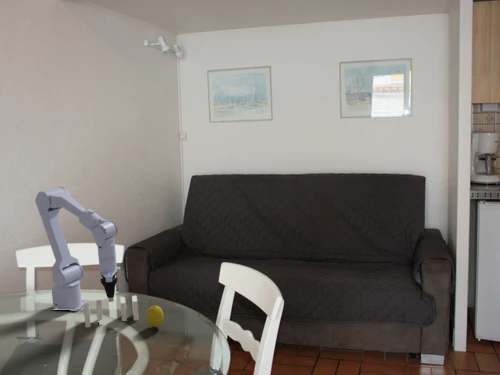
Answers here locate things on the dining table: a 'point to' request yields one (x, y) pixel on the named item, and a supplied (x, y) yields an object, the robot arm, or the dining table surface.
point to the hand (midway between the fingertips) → (110, 294)
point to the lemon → (155, 316)
